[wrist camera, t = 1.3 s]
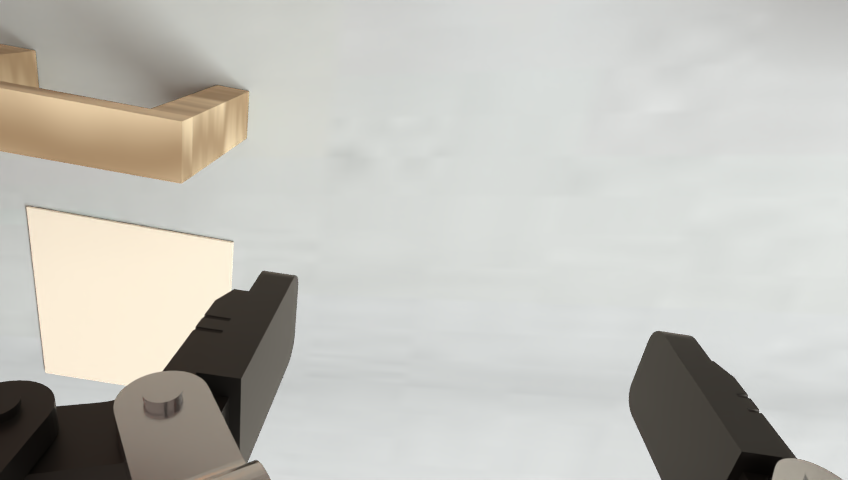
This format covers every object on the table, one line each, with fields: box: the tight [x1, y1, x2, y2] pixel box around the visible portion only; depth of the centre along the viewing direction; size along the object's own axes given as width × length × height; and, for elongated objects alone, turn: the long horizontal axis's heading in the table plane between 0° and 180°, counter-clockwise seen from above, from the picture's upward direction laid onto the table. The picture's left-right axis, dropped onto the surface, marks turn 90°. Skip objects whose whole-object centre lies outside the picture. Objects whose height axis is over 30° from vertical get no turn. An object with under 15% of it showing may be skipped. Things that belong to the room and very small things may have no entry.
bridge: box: [0, 44, 249, 183], centre depth 29 cm, size 3×15×10 cm, turn 79°
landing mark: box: [26, 206, 234, 386], centre depth 40 cm, size 14×14×1 cm
